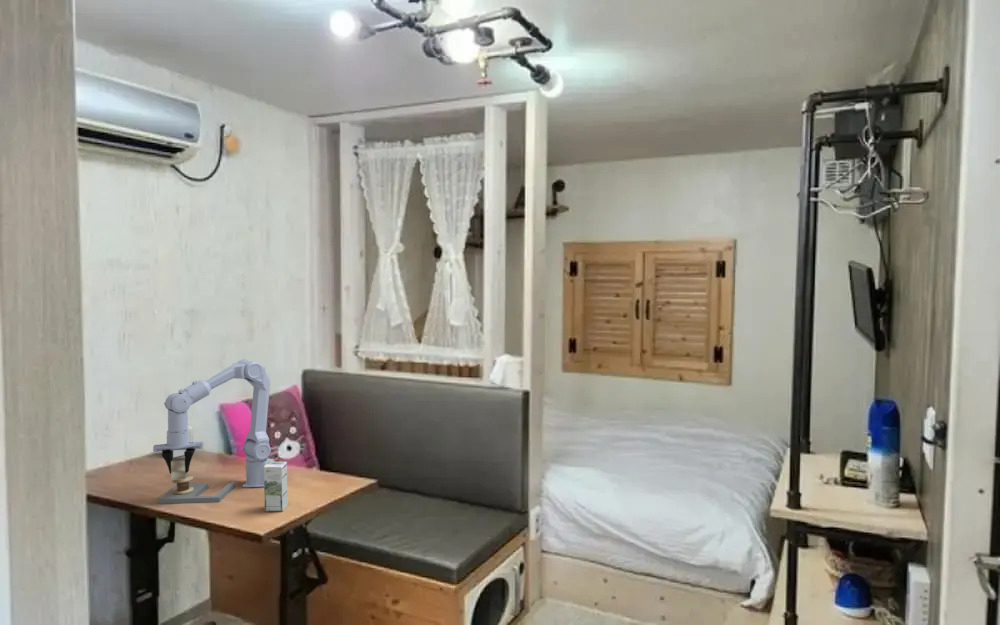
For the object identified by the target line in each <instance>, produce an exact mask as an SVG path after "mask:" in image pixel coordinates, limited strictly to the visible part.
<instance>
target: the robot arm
mask: <svg viewBox="0 0 1000 625" xmlns="http://www.w3.org/2000/svg"><path fill="white" fill-rule="evenodd" d="M233 379H240V380H241V379H243V380H246V381H247V382H248V383H249V385H251V386H252V387H253V389H252V391H253V392H252V402H251V415H250V426H249V431H248V433H247V434H246V436H245V440H244V442H243V445H242V452H243V454H244V455H245V456H246V457H245V472H246V474H245V479H246V482H245V483H244V484H243V485H242V488H264V466H265V465H266V464H267V463H268V462H276V461H275V459H274V458H270V457H269V456H270V455H271V452H272V448H271V446H270V445H271V444H270V438H269V436H268V434H267V426H268V425H267V424H268V422H267V421H268V411H269V400H270V391H271V389H270V388H271V382H270V379H269V376H268V375H267V372H266V367H265V366H264V365H263V364H261V363H260V362H258V361H253V360H248V359H240V360H238V361H237V362H234V363H232V364H231V365H229V366H228V367H227V368H224V369H223V370H221V371H219V372H218V373H216V374H215V375H213V376H212V377H210V378H209V379H207V380H194V381H192V382H191V384H190V385H188V386H186V387H185V388H180V389H178V392H174V393H171V394H169V395H168V396H167V398H166V399H165V401H164V404H163V405H164V407H165V409H167V431H168V439H169V443H167V442H166V443H162V444H154V445H153V446H152V452H153V453H158V452H161V456H162V458H163V459H164V461H165V463H166V465H167V468H168V471H169V472H168V473H169V474H171V461H172V460H173V459H174V458H173V450H186V451H185V452H184V455H183V456H184V458H185V472H187V473H189V471H190V465H191V462H192V458H193V456H194V454H195V451H196V450H203V449H204V441H193V442H188V426H189V422H188V411H189V409H190V408H191V406H192V405H194V404H195V403H197V402H199V401H200V400H202V399H204V398H206V397H208V396H209V395H210V393H211V391H212V390H213V389H215V388H216V387H219V386H221V385H223V384H224V383H227V382H229V381H230V380H233Z"/></svg>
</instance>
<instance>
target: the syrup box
mask: <svg viewBox="0 0 1000 625" xmlns="http://www.w3.org/2000/svg"><path fill="white" fill-rule="evenodd" d="M287 464H288V462H287V461H275V462H268V463H267V464H266V465H265V466H264V487H263V489H264V491H263V495H264V496H263V497H264V499H263V500H264V501H263V502H264V512H267V513H268V512H271V513H272V512H283V511H284V510H285V509H286V508H287V506H288V505H289V503H288V465H287Z"/></svg>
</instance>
